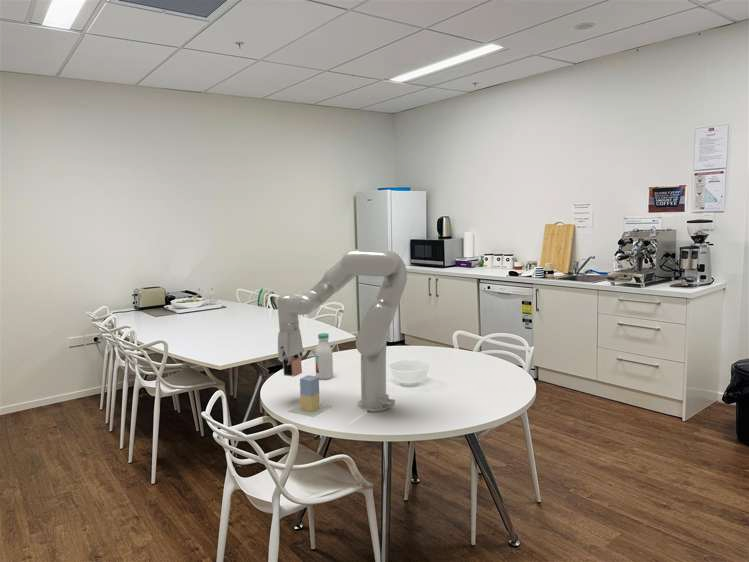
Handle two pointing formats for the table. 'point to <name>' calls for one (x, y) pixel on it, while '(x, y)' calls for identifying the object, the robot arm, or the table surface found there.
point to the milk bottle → (324, 358)
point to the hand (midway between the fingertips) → (292, 372)
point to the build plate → (312, 414)
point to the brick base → (309, 402)
